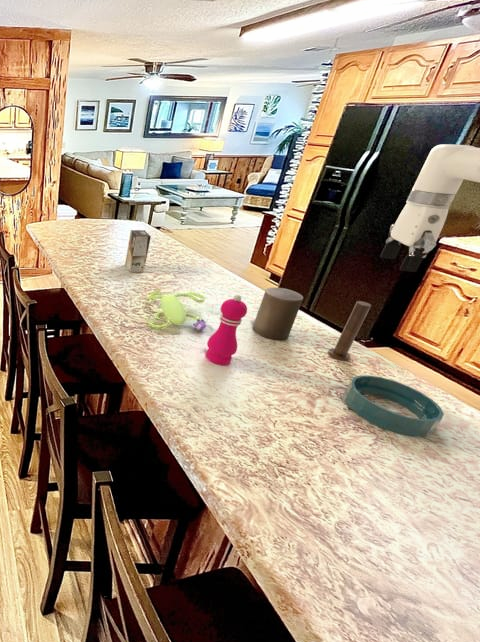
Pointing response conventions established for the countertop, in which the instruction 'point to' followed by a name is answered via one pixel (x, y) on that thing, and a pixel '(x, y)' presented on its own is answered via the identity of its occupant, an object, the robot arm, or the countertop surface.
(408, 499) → the countertop surface
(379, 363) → the countertop surface
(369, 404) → the ring
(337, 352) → the stick
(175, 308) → the figurine
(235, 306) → the pepper mill
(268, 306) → the pillar candle
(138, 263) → the coffee box
